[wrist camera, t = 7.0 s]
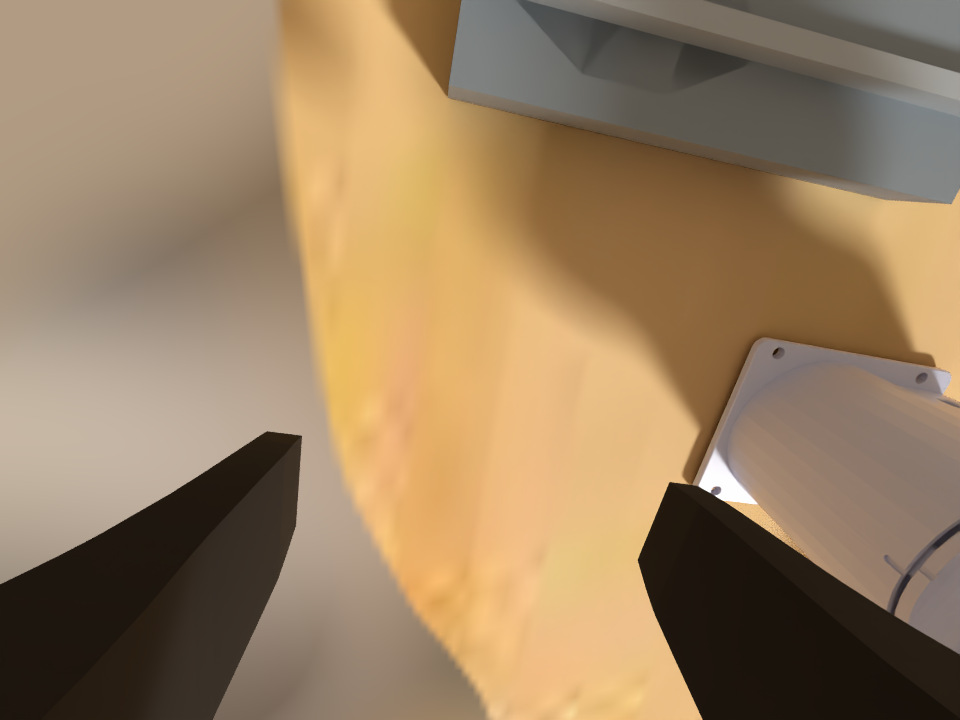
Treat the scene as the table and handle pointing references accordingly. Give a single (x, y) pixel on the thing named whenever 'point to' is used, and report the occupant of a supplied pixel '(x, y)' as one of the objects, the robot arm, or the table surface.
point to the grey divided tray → (737, 82)
